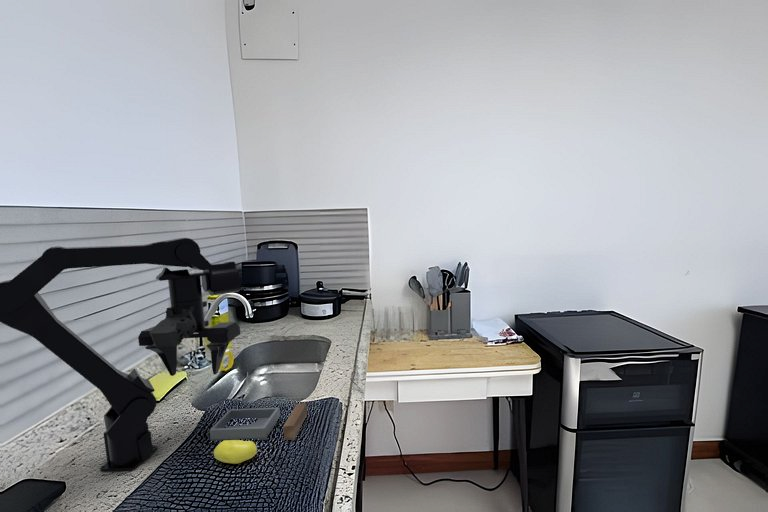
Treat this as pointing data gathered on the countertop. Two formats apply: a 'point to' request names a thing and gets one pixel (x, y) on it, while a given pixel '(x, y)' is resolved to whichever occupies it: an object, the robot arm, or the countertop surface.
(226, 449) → the lemon
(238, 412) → the tray
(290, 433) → the rail
